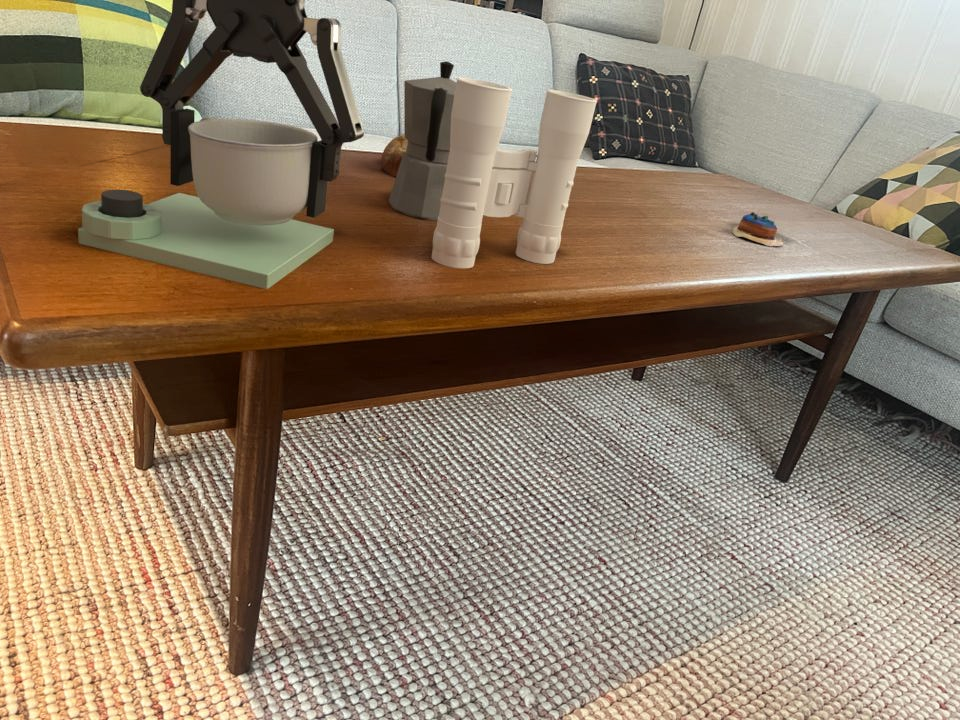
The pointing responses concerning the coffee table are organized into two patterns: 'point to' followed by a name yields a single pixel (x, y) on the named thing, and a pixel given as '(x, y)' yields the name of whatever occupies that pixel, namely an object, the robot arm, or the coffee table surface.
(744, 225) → the dessert
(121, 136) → the coffee table surface
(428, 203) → the coffeepot
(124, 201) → the button
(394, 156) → the bread roll
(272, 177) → the teacup
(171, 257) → the scale
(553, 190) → the binoculars
